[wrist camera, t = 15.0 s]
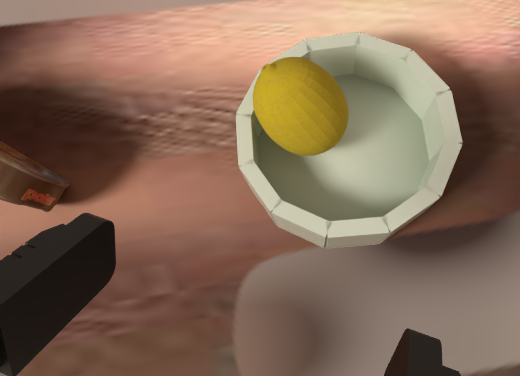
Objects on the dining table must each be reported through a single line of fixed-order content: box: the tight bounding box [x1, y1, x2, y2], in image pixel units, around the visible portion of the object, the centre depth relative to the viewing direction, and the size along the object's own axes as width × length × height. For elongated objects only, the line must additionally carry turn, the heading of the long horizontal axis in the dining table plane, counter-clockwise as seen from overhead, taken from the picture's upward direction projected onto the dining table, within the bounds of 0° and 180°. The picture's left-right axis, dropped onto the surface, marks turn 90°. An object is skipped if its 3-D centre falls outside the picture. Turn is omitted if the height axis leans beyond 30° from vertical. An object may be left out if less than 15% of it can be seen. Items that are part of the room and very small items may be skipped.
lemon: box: [253, 57, 349, 156], centre depth 27 cm, size 6×6×8 cm
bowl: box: [236, 32, 462, 248], centre depth 29 cm, size 14×14×4 cm
